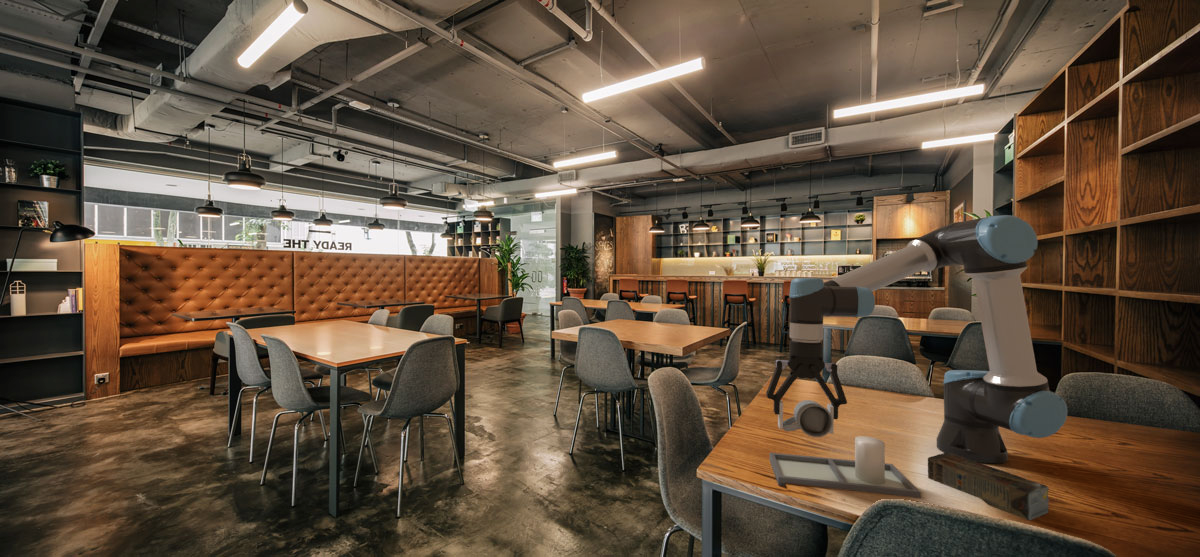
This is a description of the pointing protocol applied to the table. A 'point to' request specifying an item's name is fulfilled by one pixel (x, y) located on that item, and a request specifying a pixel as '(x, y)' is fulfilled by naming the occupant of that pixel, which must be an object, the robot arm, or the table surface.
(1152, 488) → the table surface
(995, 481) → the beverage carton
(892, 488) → the cup caddy
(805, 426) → the ceramic mug
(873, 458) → the white pillar candle
